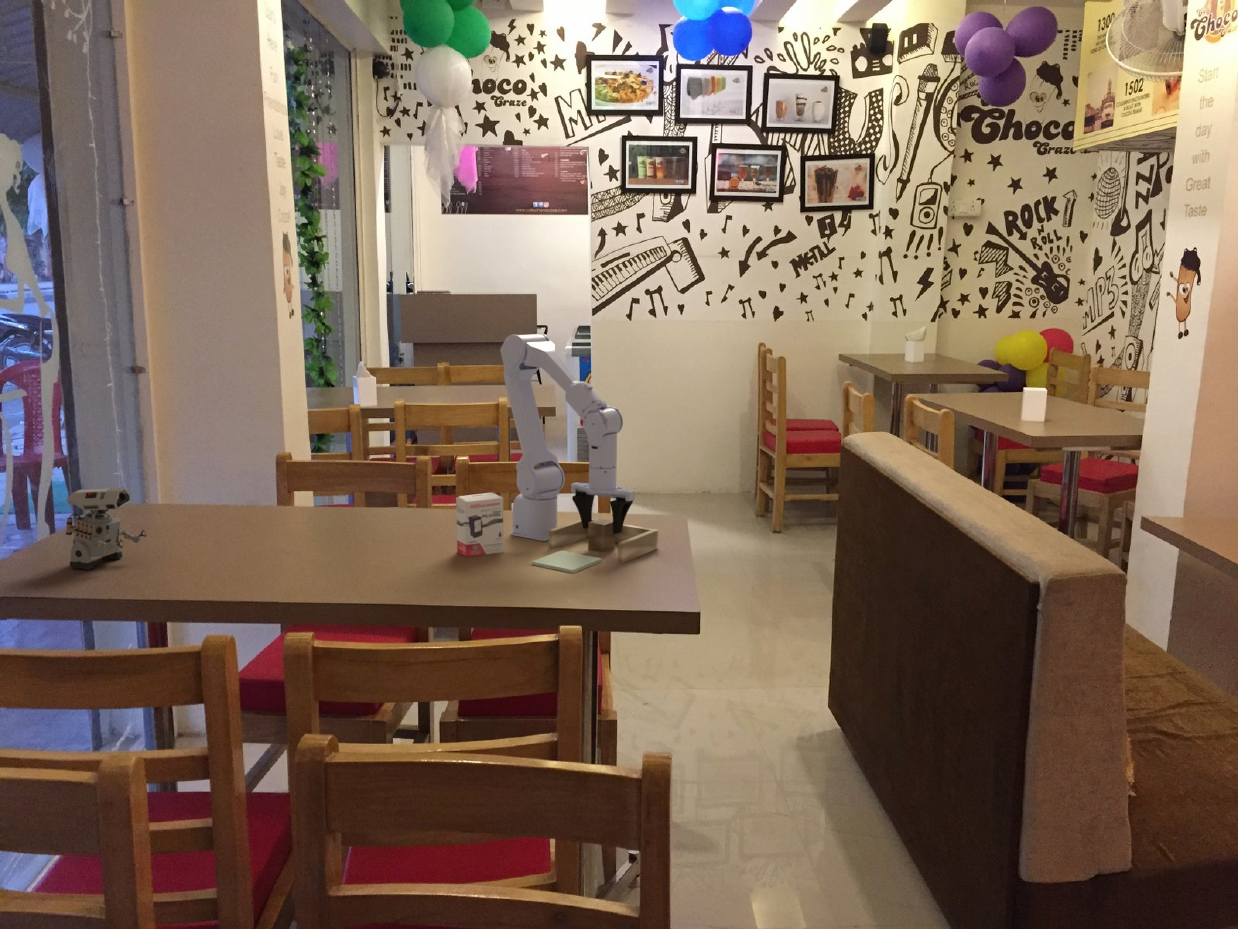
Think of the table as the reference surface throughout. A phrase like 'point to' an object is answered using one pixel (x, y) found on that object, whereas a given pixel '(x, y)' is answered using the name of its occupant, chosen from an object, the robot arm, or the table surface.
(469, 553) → the ink box
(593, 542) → the walnut block
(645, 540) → the corral
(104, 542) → the figurine
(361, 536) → the table surface
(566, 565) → the pad
